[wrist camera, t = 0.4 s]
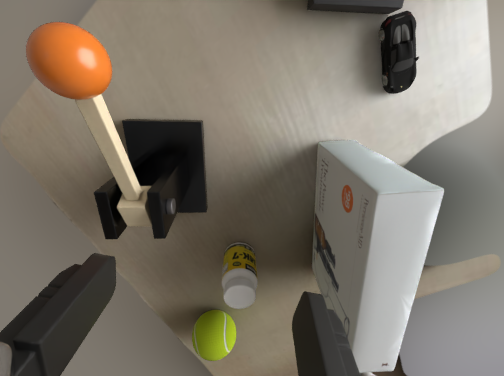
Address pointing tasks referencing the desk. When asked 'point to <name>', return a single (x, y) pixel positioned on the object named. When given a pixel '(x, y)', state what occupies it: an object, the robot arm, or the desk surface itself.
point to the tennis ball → (214, 335)
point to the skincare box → (370, 245)
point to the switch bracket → (159, 173)
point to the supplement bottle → (239, 276)
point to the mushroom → (367, 374)
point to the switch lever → (88, 101)
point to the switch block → (356, 5)
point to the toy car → (398, 52)
